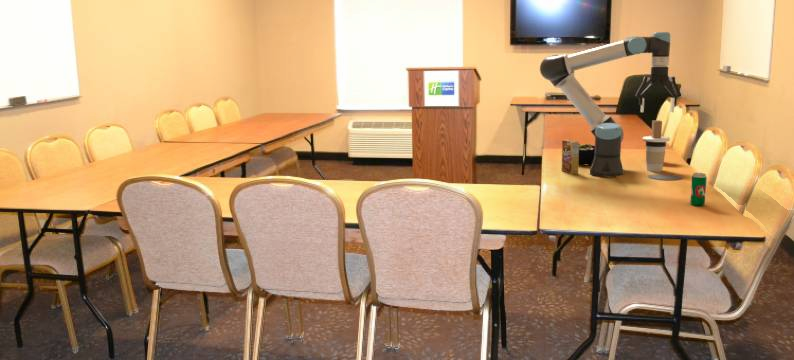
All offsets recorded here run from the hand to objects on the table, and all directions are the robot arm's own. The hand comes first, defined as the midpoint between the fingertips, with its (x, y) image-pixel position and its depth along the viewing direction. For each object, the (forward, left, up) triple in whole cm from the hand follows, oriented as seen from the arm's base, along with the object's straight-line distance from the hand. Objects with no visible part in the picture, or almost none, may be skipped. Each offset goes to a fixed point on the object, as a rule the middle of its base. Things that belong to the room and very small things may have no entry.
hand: (656, 112), depth 317 cm
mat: (-9, -15, -28) cm, 33 cm away
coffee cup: (0, 0, -29) cm, 29 cm away
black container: (-13, +34, -29) cm, 46 cm away
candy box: (-35, +19, -29) cm, 49 cm away
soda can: (-37, -57, -29) cm, 74 cm away
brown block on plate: (0, 0, -13) cm, 13 cm away
